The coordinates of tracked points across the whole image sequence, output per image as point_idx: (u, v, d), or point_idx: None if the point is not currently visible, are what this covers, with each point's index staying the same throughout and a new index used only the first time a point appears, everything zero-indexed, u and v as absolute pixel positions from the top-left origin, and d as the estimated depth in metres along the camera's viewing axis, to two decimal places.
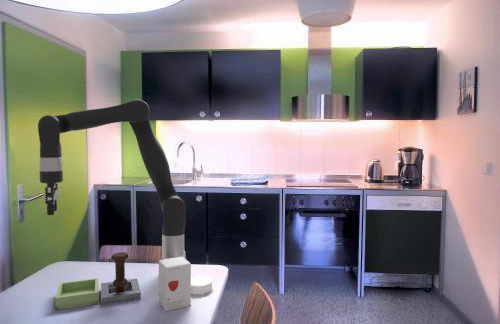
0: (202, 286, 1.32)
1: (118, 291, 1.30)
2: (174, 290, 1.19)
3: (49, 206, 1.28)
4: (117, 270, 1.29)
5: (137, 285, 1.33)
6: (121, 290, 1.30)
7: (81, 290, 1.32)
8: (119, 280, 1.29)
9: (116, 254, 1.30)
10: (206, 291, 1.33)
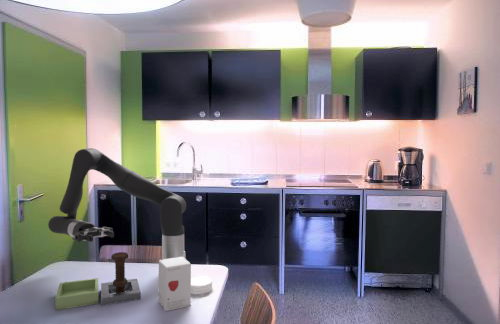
0: (202, 286, 1.32)
1: (118, 291, 1.30)
2: (174, 290, 1.19)
3: (85, 238, 1.35)
4: (117, 270, 1.29)
5: (137, 285, 1.33)
6: (121, 290, 1.30)
7: (81, 290, 1.32)
8: (119, 280, 1.29)
9: (116, 254, 1.30)
10: (206, 291, 1.33)
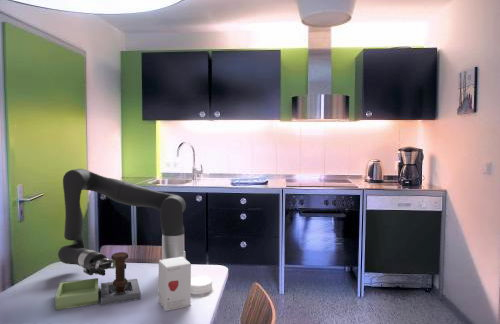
0: (202, 286, 1.32)
1: (118, 291, 1.30)
2: (174, 290, 1.19)
3: (96, 272, 1.31)
4: (117, 270, 1.29)
5: (137, 285, 1.33)
6: (121, 290, 1.30)
7: (81, 290, 1.32)
8: (119, 280, 1.29)
9: (116, 254, 1.30)
10: (206, 291, 1.33)
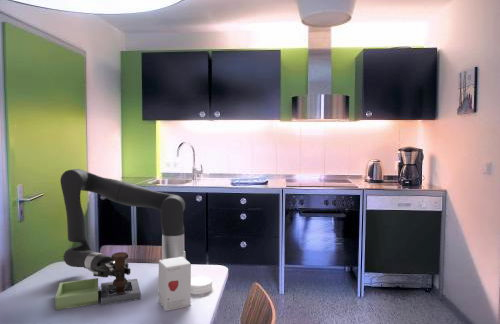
0: (202, 286, 1.32)
1: (118, 291, 1.30)
2: (174, 290, 1.19)
3: (112, 274, 1.29)
4: None
5: (137, 285, 1.33)
6: (121, 290, 1.30)
7: (81, 290, 1.32)
8: (119, 280, 1.29)
9: (116, 254, 1.30)
10: (206, 291, 1.33)
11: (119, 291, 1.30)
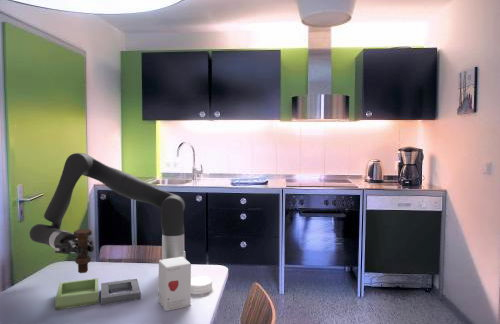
0: (202, 286, 1.32)
1: (80, 268, 1.26)
2: (174, 290, 1.19)
3: (74, 251, 1.25)
4: None
5: (137, 285, 1.33)
6: (83, 267, 1.26)
7: (81, 290, 1.32)
8: (81, 257, 1.26)
9: (79, 231, 1.26)
10: (206, 291, 1.33)
11: (81, 268, 1.26)
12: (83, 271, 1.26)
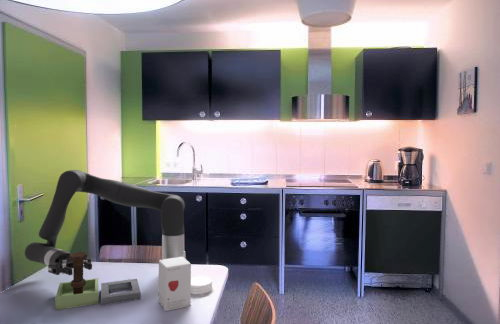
0: (202, 286, 1.32)
1: (75, 292, 1.26)
2: (174, 290, 1.19)
3: (64, 271, 1.24)
4: (75, 270, 1.26)
5: (137, 285, 1.33)
6: (79, 291, 1.26)
7: None
8: (77, 281, 1.26)
9: (74, 254, 1.27)
10: (206, 291, 1.33)
11: (76, 292, 1.26)
12: None
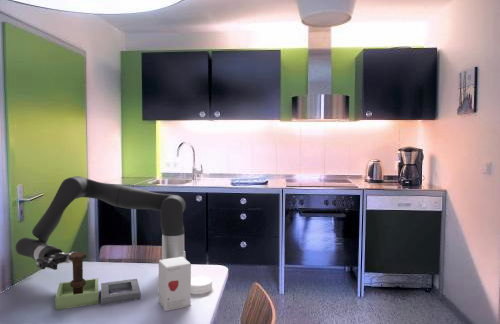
0: (202, 286, 1.32)
1: (75, 292, 1.26)
2: (174, 290, 1.19)
3: (49, 266, 1.29)
4: (74, 270, 1.26)
5: (137, 285, 1.33)
6: (78, 291, 1.26)
7: None
8: (76, 281, 1.26)
9: (73, 254, 1.27)
10: (206, 291, 1.33)
11: (76, 292, 1.26)
12: None
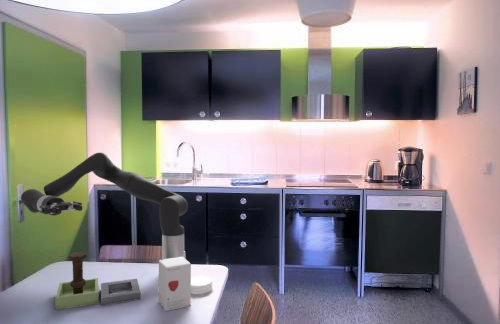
0: (202, 286, 1.32)
1: (75, 292, 1.26)
2: (174, 290, 1.19)
3: (51, 211, 1.34)
4: (74, 270, 1.26)
5: (137, 285, 1.33)
6: (78, 291, 1.26)
7: None
8: (76, 281, 1.26)
9: (73, 254, 1.27)
10: (206, 291, 1.33)
11: (76, 292, 1.26)
12: None
